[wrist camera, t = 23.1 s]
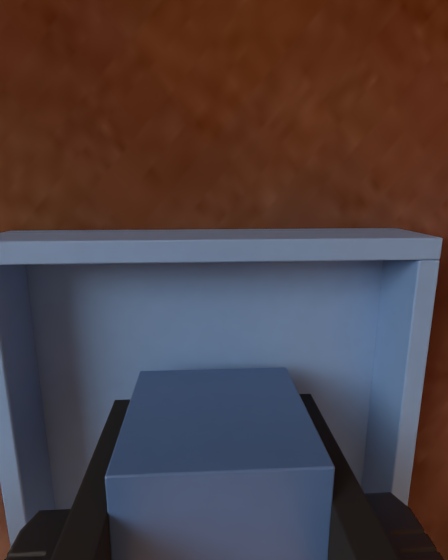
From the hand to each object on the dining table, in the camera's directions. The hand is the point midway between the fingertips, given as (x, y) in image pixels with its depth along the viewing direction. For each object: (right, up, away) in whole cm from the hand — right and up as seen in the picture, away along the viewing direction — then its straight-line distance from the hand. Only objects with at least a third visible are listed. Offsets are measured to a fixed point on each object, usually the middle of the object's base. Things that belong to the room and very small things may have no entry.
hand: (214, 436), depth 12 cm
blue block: (0, 0, 0) cm, 0 cm away
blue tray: (0, +1, +2) cm, 2 cm away
